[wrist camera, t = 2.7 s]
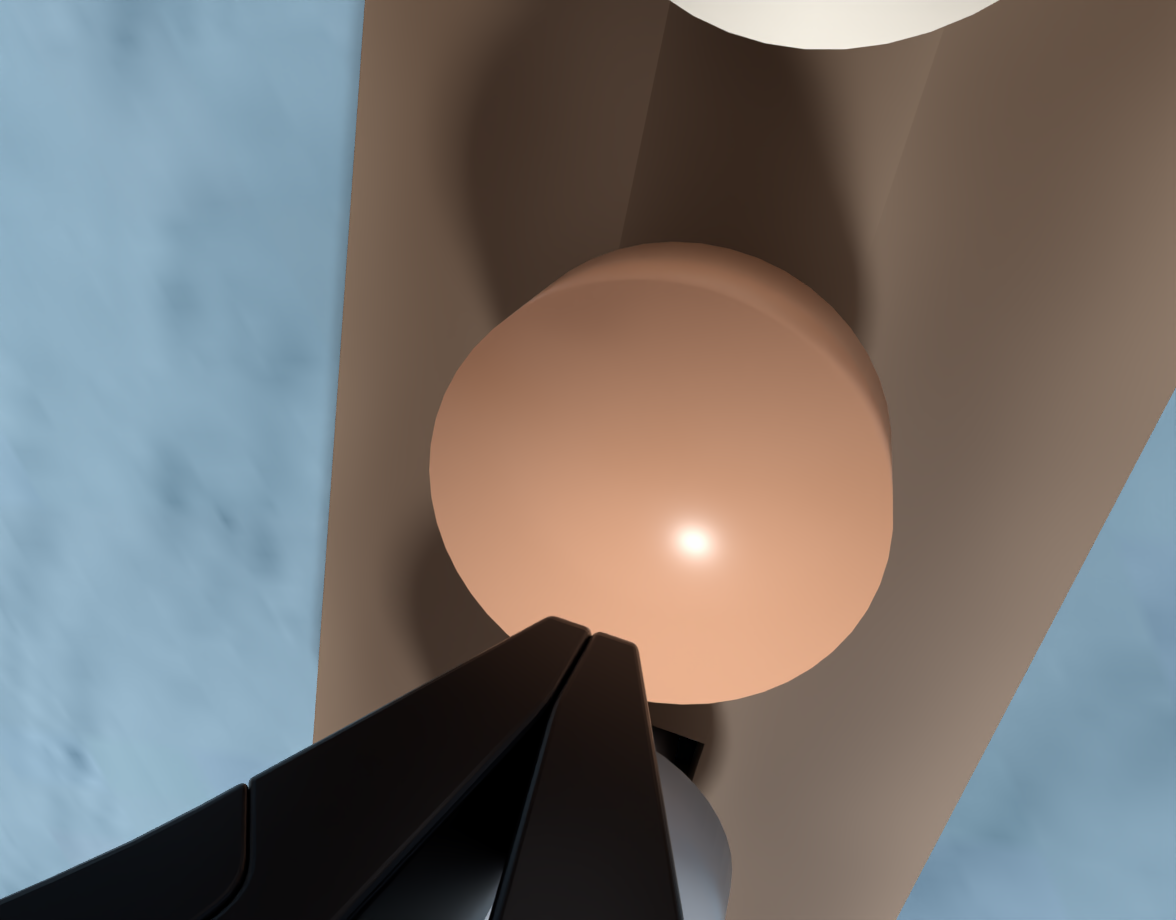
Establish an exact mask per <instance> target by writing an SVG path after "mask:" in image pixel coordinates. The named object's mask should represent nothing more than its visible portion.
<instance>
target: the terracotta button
mask: <svg viewBox="0 0 1176 920" xmlns="http://www.w3.org/2000/svg"><path fill="white" fill-rule="evenodd" d="M429 475H430V487H431V498H432V503H433V507H434V512H435V517H436V521H437V525H438V528H439V530H440V533H441V536H442V539H443V542H444V545H445V548H446V550H447V552H448V554H449V556H450V558H451V560H452V562H453V564H454V566H455V568H456V570H457V572H458V574H459V575H460V577H461V578H462V580H463V582H464V583H465V585H466V586H467V588H468V590H469V591H470V593H471V594H472V595H473V597H474V598H475V599H476V600H477V602H478V603H479V604H480V605H481V607H482V608H483V609H484V610H485V612H486V613H487V614H488V615H489V616H490V617H491V618H492V619H493V620H494V621H495V622H496V623H497V624H498V625H499V626H500V627H501V628H502V630H503V631H504V632H505V633H506V634H508V635H509V636H510V637H511V636H512V635H514V634H516V633H518V632H520V631H522V630H523V629H525V628H527V627H529V626H531V625H533V624H534V623H536V622H538V621H540V620H542V619H544V618H546V617H548V616H557V617H560V618H563V619H566V620H569V621H572V622H574V623H577V624H580V625H583V626H586V627H588V628H589V629H590V630H591V634H592V635H593V634H594V633H596V632H604V633H607V634H610V635H613V636H616V637H619V638H622V639H624V640H627V641H630V642H633V643H634V644H636V646H637V647H638V650H639V654H640V660H641V666H642V672H643V678H644V684H645V690H646V696H647V701H649V702H655V703H669V704H710V703H716V702H723V701H730V700H736V699H740V698H744V697H747V696H751V695H755V694H758V693H762V692H765V691H767V690H769V689H772V688H774V687H777V686H779V685H782V684H784V683H786V682H789V681H790V680H792V679H794V678H795V677H797V676H799V675H801V674H802V673H804V672H806V671H808V670H809V669H811V668H812V667H814V666H815V665H816V664H818V663H819V662H820V661H821V660H823V659H824V658H825V657H827V656H828V655H829V654H830V653H832V652H833V651H834V650H835V649H836V648H837V647H838V646H839V645H840V644H841V643H842V642H843V641H844V640H845V639H846V637H847V636H848V635H849V634H850V633H851V632H852V631H853V630H854V628H855V627H856V625H857V624H858V623H859V621H860V620H861V618H862V617H863V615H864V614H865V613H866V611H867V610H868V608H869V606H870V604H871V602H872V600H873V598H874V596H875V594H876V592H877V590H878V588H879V586H880V583H881V580H882V577H883V574H884V571H885V568H886V565H887V561H888V558H889V552H890V545H891V539H892V532H893V484H892V440H891V426H890V419H889V413H888V406H887V402H886V399H885V396H884V392H883V389H882V386H881V382H880V379H879V377H878V375H877V373H876V370H875V368H874V366H873V364H872V362H871V360H870V358H869V356H868V353H867V352H866V350H865V349H864V347H863V346H862V344H861V343H860V341H859V340H858V338H857V337H856V335H855V334H854V332H853V330H852V329H851V328H850V327H849V325H848V324H847V323H846V322H845V321H844V320H843V319H842V317H841V316H840V315H839V314H838V313H837V312H836V311H835V310H834V308H833V307H832V306H831V305H829V304H828V303H827V302H826V301H825V300H824V299H823V298H821V297H820V296H819V295H818V294H817V293H816V292H815V291H813V290H812V289H811V288H810V287H808V286H807V285H805V284H804V283H802V282H801V281H799V280H798V279H796V278H795V277H793V276H792V275H790V274H789V273H787V272H786V271H784V270H782V269H780V268H778V267H776V266H774V265H772V264H769V263H767V262H765V261H763V260H761V259H759V258H757V257H753V256H750V255H747V254H744V253H741V252H738V251H735V250H732V249H729V248H724V247H718V246H713V245H708V244H703V243H688V242H661V243H648V244H641V245H636V246H632V247H627V248H622V249H618V250H615V251H612V252H609V253H606V254H604V255H601V256H598V257H596V258H593V259H591V260H589V261H587V262H585V263H583V264H581V265H579V266H578V267H576V268H574V269H572V270H570V271H568V272H567V273H565V274H564V275H563V276H561V277H560V278H559V279H557V280H556V281H555V282H553V283H552V284H551V285H549V286H548V287H547V288H545V289H544V290H543V291H541V292H540V293H539V294H537V295H536V296H535V297H534V298H532V299H531V300H530V301H528V302H527V303H526V304H525V305H523V306H522V307H521V308H519V309H518V310H517V311H516V312H514V313H513V314H512V315H510V316H509V317H508V318H506V319H505V320H504V321H503V322H501V323H500V324H499V325H497V326H496V327H495V328H494V329H492V330H491V331H490V332H489V333H488V334H487V335H486V336H485V337H484V338H483V339H482V340H481V341H480V342H479V343H478V344H477V345H476V346H475V347H474V348H473V350H472V351H471V352H470V354H469V355H468V356H467V358H466V359H465V360H464V362H463V363H462V364H461V366H460V367H459V369H458V370H457V371H456V373H455V375H454V377H453V379H452V381H451V383H450V385H449V387H448V388H447V390H446V392H445V394H444V397H443V400H442V403H441V405H440V408H439V411H438V414H437V417H436V420H435V425H434V430H433V435H432V440H431V447H430V465H429Z"/></svg>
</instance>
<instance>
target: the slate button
mask: <svg viewBox="0 0 1176 920" xmlns="http://www.w3.org/2000/svg"><path fill="white" fill-rule="evenodd" d="M652 731H653V737H654V743H655V749H656V755H657V761H658V767H659V773H660V779H661V785H662V791H663V797H664V803H665V809H666V815H667V821H668V827H669V833H670V839H671V845H672V851H673V857H674V863H675V869H676V875H677V881H678V887H679V893H680V899H681V904H682V910H683V916H684V920H725V916H726V911H727V905H728V899H729V894H730V888H731V879H732V860H731V852H730V848H729V844H728V840H727V836H726V834H725V832H724V829H723V827H722V825H721V822H720V820H719V818H718V816H717V815H716V813H715V811H714V810H713V808H712V806H711V805H710V803H709V802H708V800H707V799H706V798H705V796H704V795H703V794H702V793H701V791H700V790H699V789H698V787H697V786H696V785H695V784H694V783H693V782H692V781H691V780H690V779H689V778H688V777H687V776H686V775H685V774H684V773H683V772H682V771H681V770H680V769H679V768H677V767H676V766H675V765H674V760H675V757H676V753H677V749H678V734H675V733H672V732H669V731H666V730H664V729H661V728H658V727H655V726H652ZM491 909H492V907H491ZM491 909H490V910H489V912H488V914H487V916H486V918H485V920H488V919H489V916H490V912H491Z"/></svg>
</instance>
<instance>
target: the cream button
mask: <svg viewBox="0 0 1176 920" xmlns="http://www.w3.org/2000/svg"><path fill="white" fill-rule="evenodd" d="M670 1H672V2H673V3H675V4H676V5H678V6H679V7H681V8H682V9H684V10H685V11H687V12H688V13H690V14H691V15H693V16H695V17H697V18H699V19H701V20H703V21H705V22H708V23H710V24H712V25H714V26H716V27H718V28H720V29H723V30H725V31H727V32H729V33H733V34H736V35H739V36H743V37H746V38H749V39H753V40H756V41H759V42H763V43H767V44H773V45H780V46H787V47H794V48H801V49H851V48H859V47H866V46H874V45H881V44H888V43H892V42H895V41H899V40H903V39H906V38H910V37H914V36H918V35H921V34H925V33H929V32H932V31H934V30H937V29H939V28H941V27H944V26H946V25H949V24H951V23H954V22H956V21H959V20H961V19H963V18H966V17H968V16H971V15H973V14H975V13H977V12H979V11H980V10H982V9H984V8H986V7H988V6H989V5H991V4H993V3H995V2H997V1H998V0H670Z"/></svg>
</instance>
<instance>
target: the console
mask: <svg viewBox="0 0 1176 920" xmlns="http://www.w3.org/2000/svg"><path fill="white" fill-rule="evenodd" d="M661 242H688V243H703V244H708V245H713V246H718V247H724V248H729V249H732V250H735V251H738V252H741V253H744V254H747V255H750V256H753V257H757V258H759V259H761V260H763V261H765V262H767V263H769V264H772V265H774V266H776V267H778V268H780V269H782V270H784V271H786V272H787V273H789V274H790V275H792V276H793V277H795V278H796V279H798V280H799V281H801V282H802V283H804V284H805V285H807V286H808V287H810V288H811V289H812V290H813V291H815V292H816V293H817V294H818V295H819V296H820V297H821V298H823V299H824V300H825V301H826V302H827V303H828V304H829V305H831V306H832V307H833V308H834V310H835V311H836V312H837V313H838V314H839V315H840V316H841V317H842V319H843V320H844V321H845V322H846V323H847V324H848V325H849V327H850V328H851V329H852V330H853V332H854V334H855V335H856V337H857V338H858V340H859V341H860V343H861V344H862V346H863V347H864V349H865V350H866V352H867V353H868V356H869V358H870V360H871V362H872V364H873V366H874V368H875V370H876V373H877V375H878V377H879V379H880V382H881V386H882V389H883V392H884V396H885V399H886V402H887V406H888V413H889V419H890V426H891V440H892V484H893V532H892V539H891V545H890V552H889V558H888V561H887V565H886V568H885V571H884V574H883V577H882V580H881V583H880V586H879V588H878V590H877V592H876V594H875V596H874V598H873V600H872V602H871V604H870V606H869V608H868V610H867V611H866V613H865V614H864V615H863V617H862V618H861V620H860V621H859V623H858V624H857V625H856V627H855V628H854V630H853V631H852V632H851V633H850V634H849V635H848V636H847V637H846V639H845V640H844V641H843V642H842V643H841V644H840V645H839V646H838V647H837V648H836V649H835V650H834V651H833V652H832V653H830V654H829V655H828V656H827V657H825V658H824V659H823V660H821V661H820V662H819V663H818V664H816V665H815V666H814V667H812V668H811V669H809V670H808V671H806V672H804V673H802V674H801V675H799V676H797V677H795V678H794V679H792V680H790V681H789V682H786V683H784V684H782V685H779V686H777V687H774V688H772V689H769V690H767V691H765V692H762V693H758V694H755V695H751V696H747V697H744V698H740V699H736V700H730V701H723V702H716V703H710V704H669V703H655V702H649V701H647V702H648V708H649V714H650V720H651V725H652V726H655V727H658V728H661V729H664V730H666V731H669V732H672V733H675V734H678V735H681V736H683V737H686V738H689V739H692V740H695V741H698V742H697V745H696V748H695V751H694V754H693V757H692V760H691V763H690V765H689V764H686V763H683V762H680V761H677V760H674V765H675V766H676V767H677V768H679V769H680V770H681V771H682V772H683V773H684V774H685V775H686V776H687V777H688V778H689V779H690V780H691V781H692V782H693V783H694V784H695V785H696V786H697V787H698V789H699V790H700V791H701V793H702V794H703V795H704V796H705V798H706V799H707V800H708V802H709V803H710V805H711V806H712V808H713V810H714V811H715V813H716V815H717V816H718V818H719V820H720V822H721V825H722V827H723V829H724V832H725V834H726V836H727V840H728V844H729V848H730V852H731V860H732V879H731V888H730V894H729V899H728V905H727V911H726V916H725V920H896V919H897V917H898V915H899V913H900V911H901V909H902V907H903V905H904V903H905V902H906V900H907V898H908V896H909V894H910V892H911V890H912V888H913V886H914V884H915V882H916V881H917V879H918V877H919V875H920V873H921V871H922V869H923V867H924V865H925V863H926V862H927V860H928V858H929V856H930V854H931V852H932V850H933V848H934V846H935V844H936V843H937V841H938V839H939V837H940V835H941V833H942V831H943V829H944V827H945V825H946V824H947V822H948V820H949V818H950V816H951V814H952V812H953V810H954V808H955V806H956V804H957V803H958V801H959V799H960V797H961V795H962V793H963V791H964V789H965V787H966V785H967V784H968V782H969V780H970V778H971V776H972V774H973V772H974V770H975V768H976V766H977V765H978V763H979V761H980V759H981V757H982V755H983V753H984V751H985V749H986V747H987V745H988V744H989V742H990V740H991V738H992V736H993V734H994V732H995V730H996V728H997V726H998V725H999V723H1000V721H1001V719H1002V717H1003V715H1004V713H1005V711H1006V709H1007V707H1008V706H1009V704H1010V702H1011V700H1012V698H1013V696H1014V694H1015V692H1016V690H1017V688H1018V687H1019V685H1020V683H1021V681H1022V679H1023V677H1024V675H1025V673H1026V671H1027V669H1028V667H1029V666H1030V664H1031V662H1032V660H1033V658H1034V656H1035V654H1036V652H1037V650H1038V648H1039V647H1040V645H1041V643H1042V641H1043V639H1044V637H1045V635H1046V633H1047V631H1048V629H1049V628H1050V626H1051V624H1052V622H1053V620H1054V618H1055V616H1056V614H1057V612H1058V610H1059V608H1060V607H1061V605H1062V603H1063V601H1064V599H1065V597H1066V595H1067V593H1068V591H1069V589H1070V588H1071V586H1072V584H1073V582H1074V580H1075V578H1076V576H1077V574H1078V572H1079V570H1080V569H1081V567H1082V565H1083V563H1084V561H1085V559H1086V557H1087V555H1088V553H1089V551H1090V550H1091V548H1092V546H1093V544H1094V542H1095V540H1096V538H1097V536H1098V534H1099V532H1100V530H1101V529H1102V527H1103V525H1104V523H1105V521H1106V519H1107V517H1108V515H1109V513H1110V511H1111V510H1112V508H1113V506H1114V504H1115V502H1116V500H1117V498H1118V496H1119V494H1120V492H1121V491H1122V489H1123V487H1124V485H1125V483H1126V481H1127V479H1128V477H1129V475H1130V473H1131V471H1132V470H1133V468H1134V466H1135V464H1136V462H1137V460H1138V458H1139V456H1140V454H1141V452H1142V451H1143V449H1144V447H1145V445H1146V443H1147V441H1148V439H1149V437H1150V435H1151V433H1152V432H1153V430H1154V428H1155V426H1156V424H1157V422H1158V420H1159V418H1160V416H1161V414H1162V413H1163V411H1164V409H1165V407H1166V405H1167V403H1168V401H1169V399H1170V397H1171V395H1172V393H1173V392H1174V390H1175V388H1176V0H998V1H997V2H995V3H993V4H991V5H989V6H988V7H986V8H984V9H982V10H980V11H979V12H977V13H975V14H973V15H971V16H968V17H966V18H963V19H961V20H959V21H956V22H954V23H951V24H949V25H946V26H944V27H941V28H939V29H937V30H934V31H932V32H929V33H925V34H921V35H918V36H914V37H910V38H906V39H903V40H899V41H895V42H892V43H888V44H881V45H874V46H866V47H859V48H851V49H801V48H794V47H787V46H780V45H773V44H767V43H763V42H759V41H756V40H753V39H749V38H746V37H743V36H739V35H736V34H733V33H729V32H727V31H725V30H723V29H720V28H718V27H716V26H714V25H712V24H710V23H708V22H705V21H703V20H701V19H699V18H697V17H695V16H693V15H691V14H690V13H688V12H687V11H685V10H684V9H682V8H681V7H679V6H678V5H676V4H675V3H673V2H672V1H670V0H365V8H364V23H363V37H362V51H361V65H360V80H359V94H358V108H357V122H356V136H355V151H354V165H353V179H352V193H351V208H350V222H349V236H348V250H347V265H346V279H345V293H344V307H343V322H342V336H341V350H340V364H339V379H338V393H337V407H336V421H335V436H334V450H333V464H332V478H331V493H330V507H329V521H328V535H327V550H326V564H325V578H324V592H323V607H322V621H321V635H320V649H319V664H318V678H317V692H316V706H315V721H314V735H313V744H314V743H316V742H318V741H320V740H322V739H324V738H325V737H327V736H329V735H331V734H333V733H335V732H336V731H338V730H340V729H342V728H344V727H346V726H347V725H349V724H351V723H353V722H355V721H357V720H358V719H360V718H362V717H364V716H366V715H368V714H369V713H371V712H373V711H375V710H377V709H379V708H380V707H382V706H384V705H386V704H388V703H390V702H391V701H393V700H395V699H397V698H399V697H401V696H402V695H404V694H406V693H408V692H410V691H412V690H413V689H415V688H417V687H419V686H421V685H423V684H424V683H426V682H428V681H430V680H432V679H434V678H435V677H437V676H439V675H441V674H443V673H445V672H446V671H448V670H450V669H452V668H454V667H456V666H457V665H459V664H461V663H463V662H465V661H467V660H468V659H470V658H472V657H474V656H476V655H478V654H479V653H481V652H483V651H485V650H487V649H489V648H490V647H492V646H494V645H496V644H498V643H500V642H501V641H503V640H505V639H507V638H509V637H510V636H509V635H508V634H506V633H505V632H504V631H503V630H502V628H501V627H500V626H499V625H498V624H497V623H496V622H495V621H494V620H493V619H492V618H491V617H490V616H489V615H488V614H487V613H486V612H485V610H484V609H483V608H482V607H481V605H480V604H479V603H478V602H477V600H476V599H475V598H474V597H473V595H472V594H471V593H470V591H469V590H468V588H467V586H466V585H465V583H464V582H463V580H462V578H461V577H460V575H459V574H458V572H457V570H456V568H455V566H454V564H453V562H452V560H451V558H450V556H449V554H448V552H447V550H446V548H445V545H444V542H443V539H442V536H441V533H440V530H439V528H438V525H437V521H436V517H435V512H434V507H433V503H432V498H431V487H430V475H429V465H430V447H431V440H432V435H433V430H434V425H435V420H436V417H437V414H438V411H439V408H440V405H441V403H442V400H443V397H444V394H445V392H446V390H447V388H448V387H449V385H450V383H451V381H452V379H453V377H454V375H455V373H456V371H457V370H458V369H459V367H460V366H461V364H462V363H463V362H464V360H465V359H466V358H467V356H468V355H469V354H470V352H471V351H472V350H473V348H474V347H475V346H476V345H477V344H478V343H479V342H480V341H481V340H482V339H483V338H484V337H485V336H486V335H487V334H488V333H489V332H490V331H491V330H492V329H494V328H495V327H496V326H497V325H499V324H500V323H501V322H503V321H504V320H505V319H506V318H508V317H509V316H510V315H512V314H513V313H514V312H516V311H517V310H518V309H519V308H521V307H522V306H523V305H525V304H526V303H527V302H528V301H530V300H531V299H532V298H534V297H535V296H536V295H537V294H539V293H540V292H541V291H543V290H544V289H545V288H547V287H548V286H549V285H551V284H552V283H553V282H555V281H556V280H557V279H559V278H560V277H561V276H563V275H564V274H565V273H567V272H568V271H570V270H572V269H574V268H576V267H578V266H579V265H581V264H583V263H585V262H587V261H589V260H591V259H593V258H596V257H598V256H601V255H604V254H606V253H609V252H612V251H615V250H618V249H622V248H627V247H632V246H636V245H641V244H648V243H661Z"/></svg>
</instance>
